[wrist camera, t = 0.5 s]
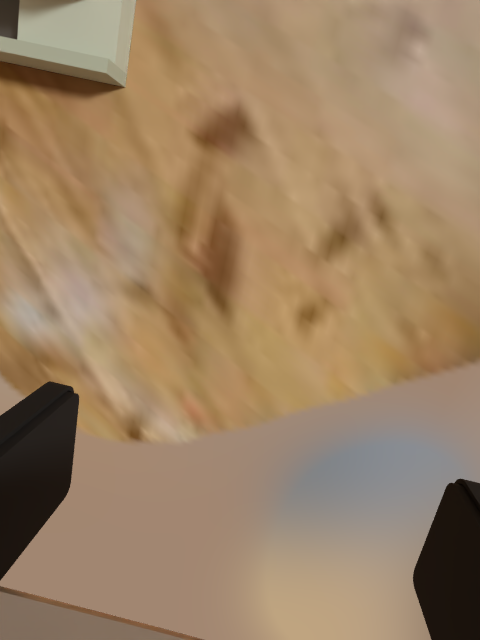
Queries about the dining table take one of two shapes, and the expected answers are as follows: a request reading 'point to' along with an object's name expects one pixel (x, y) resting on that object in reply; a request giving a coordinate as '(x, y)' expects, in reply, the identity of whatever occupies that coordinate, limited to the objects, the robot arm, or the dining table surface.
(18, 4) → the trap board
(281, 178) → the dining table surface
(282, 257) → the dining table surface
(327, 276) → the dining table surface
